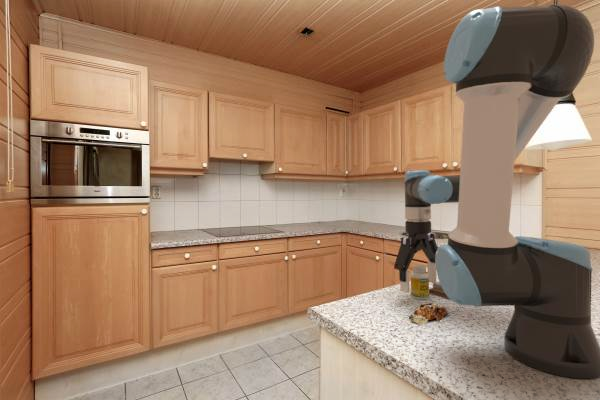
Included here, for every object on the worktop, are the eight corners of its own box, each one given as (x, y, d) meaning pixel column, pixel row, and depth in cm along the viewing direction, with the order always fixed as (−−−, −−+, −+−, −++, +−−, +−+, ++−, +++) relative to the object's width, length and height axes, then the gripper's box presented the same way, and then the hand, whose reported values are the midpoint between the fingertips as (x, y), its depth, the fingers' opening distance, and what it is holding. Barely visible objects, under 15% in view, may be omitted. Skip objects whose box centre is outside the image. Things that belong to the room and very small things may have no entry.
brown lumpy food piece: (404, 321, 79) (403, 308, 79) (425, 309, 87) (424, 296, 87) (430, 329, 74) (430, 315, 74) (450, 315, 82) (450, 302, 82)
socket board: (456, 301, 91) (456, 291, 91) (429, 293, 98) (429, 284, 98) (476, 293, 98) (476, 283, 98) (449, 286, 105) (449, 277, 105)
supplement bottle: (419, 293, 99) (418, 263, 99) (433, 298, 94) (432, 267, 94) (407, 296, 97) (406, 265, 97) (420, 301, 92) (420, 269, 92)
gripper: (402, 225, 85) (403, 299, 86) (451, 217, 99) (452, 281, 100) (381, 223, 91) (382, 292, 92) (430, 216, 105) (431, 276, 106)
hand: (419, 287), depth 96 cm, fingers open, 13 cm apart
